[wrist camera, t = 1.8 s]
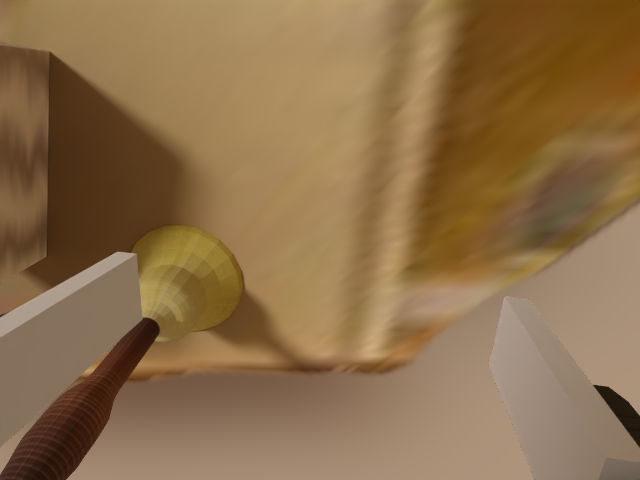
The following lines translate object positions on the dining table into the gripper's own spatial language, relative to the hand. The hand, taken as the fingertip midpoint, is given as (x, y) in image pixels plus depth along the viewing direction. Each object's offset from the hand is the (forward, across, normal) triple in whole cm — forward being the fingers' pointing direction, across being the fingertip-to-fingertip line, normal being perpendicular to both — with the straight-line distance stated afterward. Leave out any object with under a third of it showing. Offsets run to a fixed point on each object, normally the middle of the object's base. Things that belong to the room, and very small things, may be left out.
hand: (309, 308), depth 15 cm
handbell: (+24, -17, -12) cm, 32 cm away
